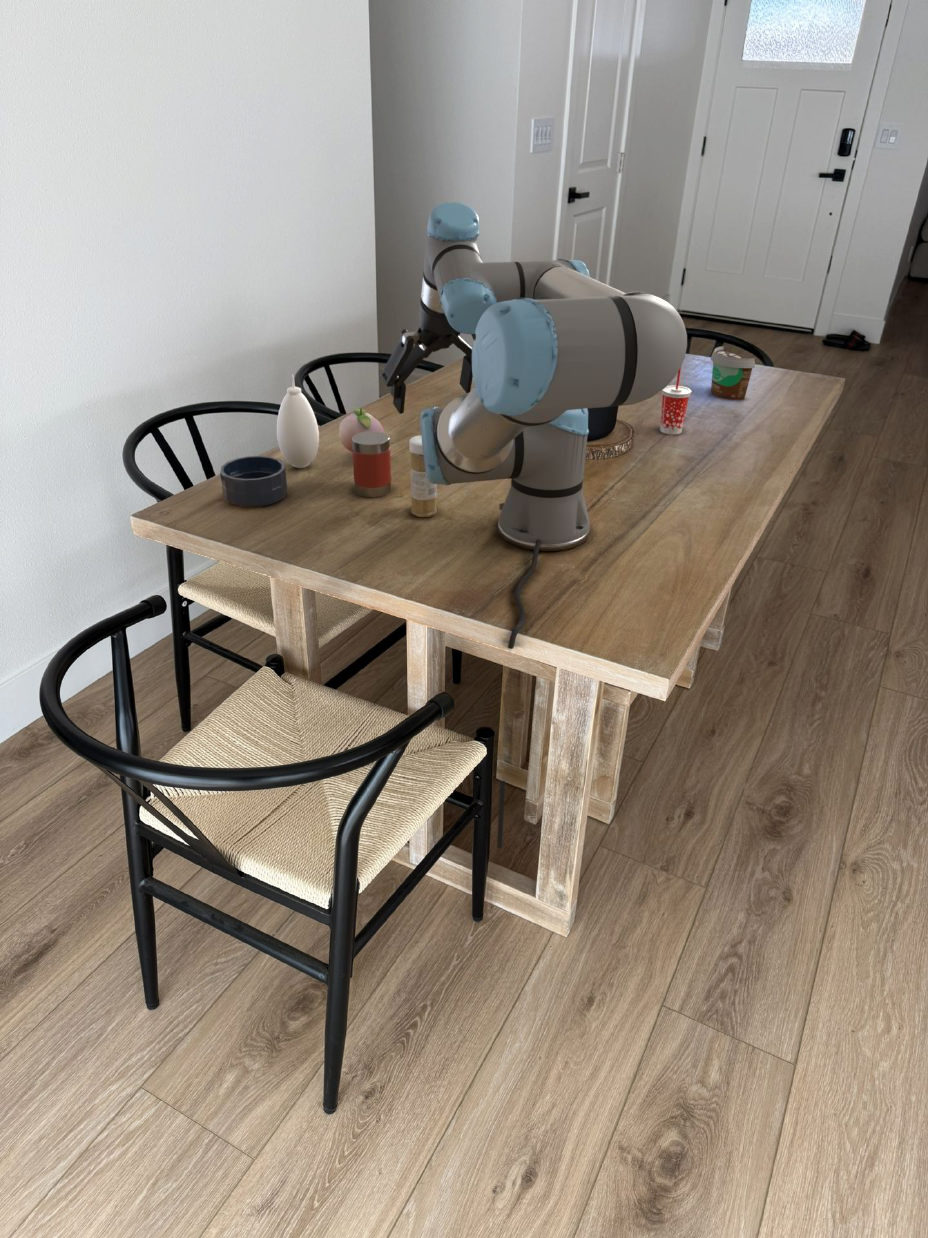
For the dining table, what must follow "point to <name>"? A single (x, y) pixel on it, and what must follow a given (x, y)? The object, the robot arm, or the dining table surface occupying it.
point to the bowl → (254, 481)
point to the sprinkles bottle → (421, 482)
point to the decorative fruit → (357, 426)
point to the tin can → (371, 464)
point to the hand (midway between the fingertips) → (432, 398)
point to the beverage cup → (674, 407)
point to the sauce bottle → (297, 429)
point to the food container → (730, 374)
